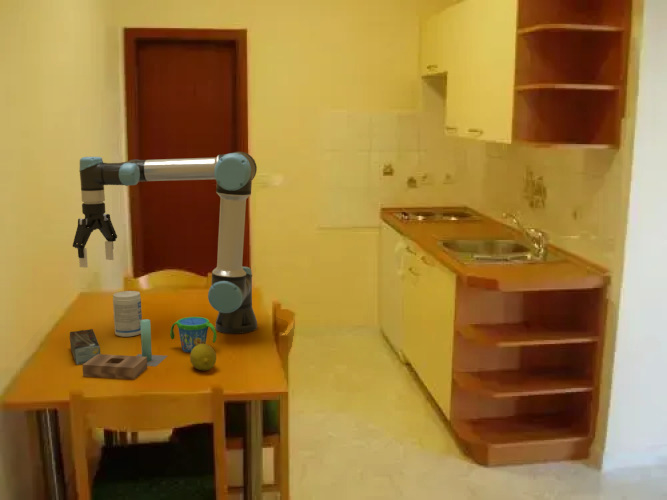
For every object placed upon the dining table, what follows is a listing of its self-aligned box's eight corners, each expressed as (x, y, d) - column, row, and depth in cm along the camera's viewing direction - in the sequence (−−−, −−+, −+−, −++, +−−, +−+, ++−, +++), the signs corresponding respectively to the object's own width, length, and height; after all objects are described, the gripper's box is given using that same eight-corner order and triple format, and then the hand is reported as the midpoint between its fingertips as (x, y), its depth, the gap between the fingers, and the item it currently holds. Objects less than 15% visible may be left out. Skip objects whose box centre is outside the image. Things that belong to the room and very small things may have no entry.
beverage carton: (74, 367, 231) (73, 346, 230) (69, 349, 249) (68, 330, 248) (101, 363, 235) (100, 343, 233) (94, 346, 252) (93, 327, 251)
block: (147, 369, 229) (146, 356, 228) (134, 380, 219) (133, 367, 219) (98, 366, 231) (97, 354, 231) (83, 377, 222) (82, 364, 221)
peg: (153, 358, 238) (151, 319, 235) (149, 361, 235) (148, 322, 232) (144, 358, 238) (142, 319, 236) (140, 361, 235) (138, 321, 233)
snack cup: (222, 347, 250) (221, 318, 248) (207, 357, 240) (206, 327, 238) (180, 343, 255) (179, 314, 253) (164, 352, 245) (163, 322, 243)
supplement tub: (146, 334, 264) (144, 294, 261) (119, 339, 259) (117, 298, 256) (137, 328, 272) (135, 289, 269) (111, 332, 267) (109, 292, 264)
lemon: (218, 374, 225) (217, 349, 224) (191, 376, 224) (191, 350, 222) (214, 362, 236) (214, 338, 234) (189, 364, 234) (188, 340, 232)
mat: (167, 357, 241) (167, 355, 240) (156, 367, 231) (156, 366, 231) (138, 355, 242) (138, 354, 242) (125, 365, 232) (125, 364, 232)
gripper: (108, 197, 266) (111, 256, 270) (58, 206, 244) (63, 269, 247) (125, 198, 264) (128, 257, 267) (77, 207, 241) (81, 271, 245)
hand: (97, 263), depth 257 cm, fingers open, 13 cm apart
